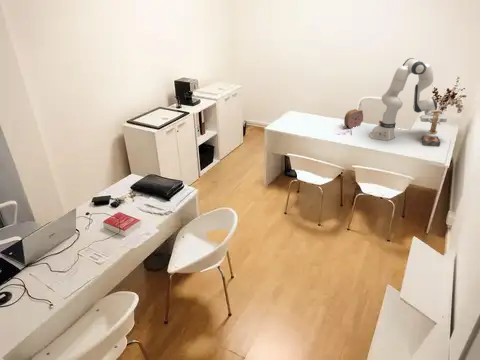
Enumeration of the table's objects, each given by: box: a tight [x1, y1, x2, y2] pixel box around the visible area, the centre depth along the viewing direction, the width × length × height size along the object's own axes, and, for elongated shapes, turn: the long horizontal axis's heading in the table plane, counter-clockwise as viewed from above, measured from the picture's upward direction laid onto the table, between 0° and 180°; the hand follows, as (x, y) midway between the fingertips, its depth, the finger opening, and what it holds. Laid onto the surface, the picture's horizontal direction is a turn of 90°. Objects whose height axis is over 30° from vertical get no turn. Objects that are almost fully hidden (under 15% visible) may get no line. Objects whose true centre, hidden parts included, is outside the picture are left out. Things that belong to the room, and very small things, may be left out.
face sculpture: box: [343, 108, 364, 129], centre depth 352 cm, size 20×7×17 cm, turn 119°
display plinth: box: [420, 135, 441, 147], centre depth 311 cm, size 13×12×4 cm
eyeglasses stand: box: [427, 110, 444, 135], centre depth 302 cm, size 8×7×20 cm
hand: (434, 122), depth 301 cm, fingers closed on eyeglasses stand, 4 cm apart
